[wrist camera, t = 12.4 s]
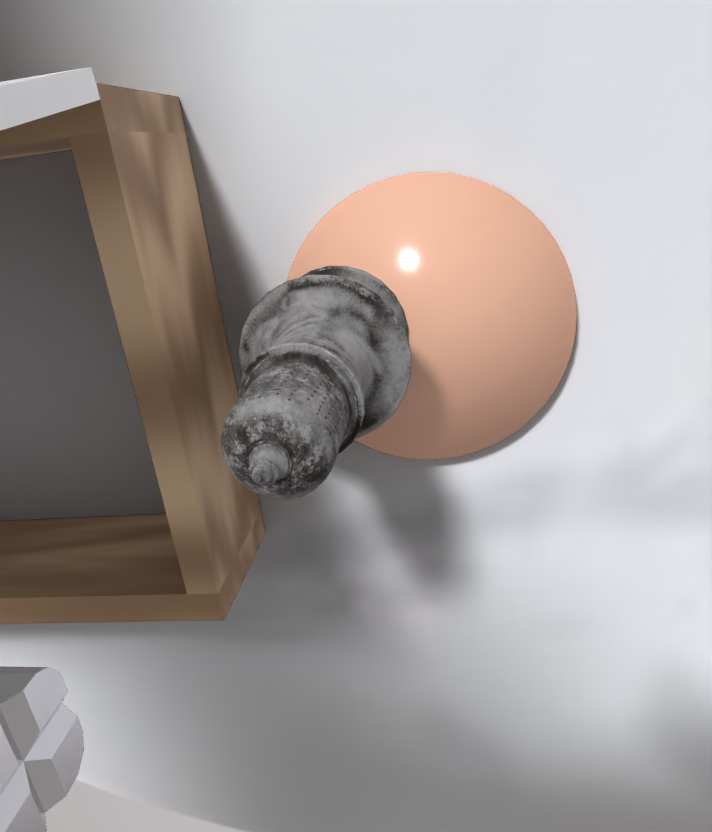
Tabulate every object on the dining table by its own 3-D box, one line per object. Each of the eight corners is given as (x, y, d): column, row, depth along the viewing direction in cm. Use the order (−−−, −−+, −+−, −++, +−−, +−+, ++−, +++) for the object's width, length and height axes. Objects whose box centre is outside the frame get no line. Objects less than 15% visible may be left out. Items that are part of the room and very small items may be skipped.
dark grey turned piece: (321, 223, 24) (215, 292, 13) (448, 322, 25) (450, 465, 14) (236, 346, 26) (85, 494, 15) (355, 433, 27) (293, 633, 16)
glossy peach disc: (263, 191, 24) (258, 192, 24) (573, 152, 23) (576, 152, 22) (307, 460, 28) (304, 466, 28) (574, 445, 27) (577, 451, 26)
